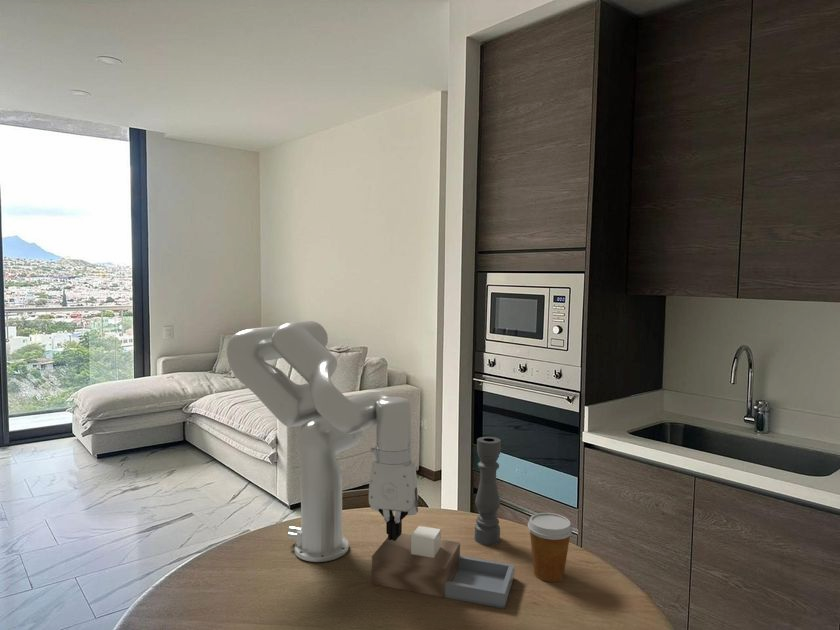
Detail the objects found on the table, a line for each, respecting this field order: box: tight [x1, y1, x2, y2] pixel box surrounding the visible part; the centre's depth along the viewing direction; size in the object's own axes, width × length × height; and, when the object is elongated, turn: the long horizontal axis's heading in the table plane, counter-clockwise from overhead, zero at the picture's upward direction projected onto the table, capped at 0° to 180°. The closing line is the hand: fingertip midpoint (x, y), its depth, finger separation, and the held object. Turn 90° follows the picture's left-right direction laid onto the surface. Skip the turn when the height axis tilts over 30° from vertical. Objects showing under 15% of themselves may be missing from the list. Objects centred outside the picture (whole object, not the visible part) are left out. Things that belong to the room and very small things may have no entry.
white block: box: [410, 525, 442, 558], centre depth 121 cm, size 5×5×4 cm
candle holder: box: [474, 436, 502, 546], centre depth 139 cm, size 6×6×25 cm
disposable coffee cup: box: [527, 512, 573, 583], centre depth 123 cm, size 10×10×12 cm
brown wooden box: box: [371, 532, 461, 598], centre depth 122 cm, size 16×12×6 cm
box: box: [444, 555, 515, 610], centre depth 118 cm, size 12×12×3 cm
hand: (394, 537), depth 123 cm, fingers closed
